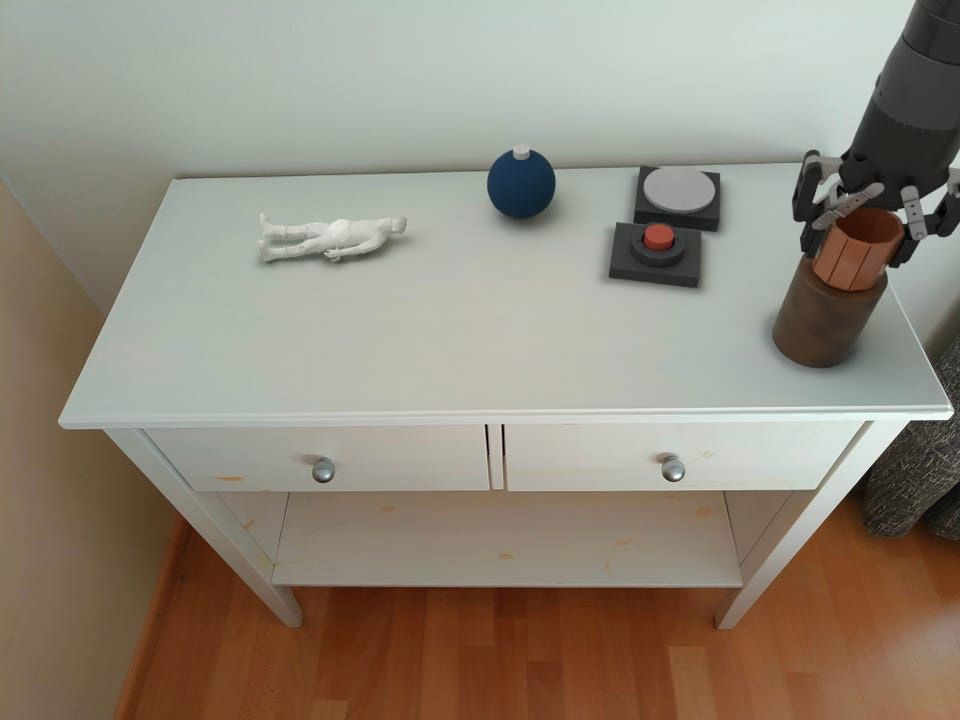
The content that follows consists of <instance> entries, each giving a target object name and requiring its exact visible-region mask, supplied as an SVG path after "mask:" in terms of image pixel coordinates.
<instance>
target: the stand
mask: <svg viewBox="0 0 960 720" xmlns="http://www.w3.org/2000/svg"><path fill="white" fill-rule="evenodd" d="M888 284H889V276H888V272H887V270H886V269H885V271H884V273H883V275H882V276H881V278H880V279H879V280H878V281H877V282H876V283H875V284H874V285H873V286H872V287H871V288H869V289H862V290H855V291H848V290H841V289H838V288H835V287H832V286H830V285H828V284H827V283H825V282H824V281H823V280H822V279H821V278H820V277H819V276H818V275H817V274H816V273H815V272H814V270H813V268H812V259H809V258H805V252H803V254H802V256H801V257H800V259H799V263H798V264H797V267H796V270H795V271H794V274H793V277H792V279H791V281H790V284H789V287H788V289H787V292H786V293H785V296H784V299H783V301H782V304H781V306H780V309H779V311H778V313H777V316H776V318H775V320H774V323H773V325H772V328H771V334H772V335H771V336H772V339H773V342H774V345H775V346H776V347H777V349H778V350H779V351H780V353H782V354H783V356H785V357H787V358H788V359H789V360H791V361H792V362H795V363H798V364H800V365H802V366H806V367H810V368H815V369H816V368H817V369H826V368H831V367H835V366H837V365H840V364H841V363H843V362H844V361H845V360H846V359H847V358H848V357H849V356H850V354H851V352H852V351H853V348H854V347H855V345H856V343H857V341H858V339H859V338H860V336H861V334H862V332H863V331H864V329H865V328H866V325H867V323H868V322H869V320H870V318H871V316H872V315H873V312H874V311H875V309H876V307H877V305H878V304H879V302H880V300H881V298H882V297H883V295H884V293H885V291H886V290H887V287H888Z"/></svg>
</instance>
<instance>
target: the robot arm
mask: <svg viewBox="0 0 960 720" xmlns="http://www.w3.org/2000/svg"><path fill="white" fill-rule="evenodd" d="M959 152H960V0H914V2H913V5H912V8H911V10H910V13H909V15H908V17H907V19H906V22H905V24H904V26H903V30H902V31H901V34H900V36H899V37H898V39H897V41H896V42H895V44H894V45H893V47H892V48H891V51H890V53H889V54H888V56H887V58H886V61H885V63H884V65H883V68H882V70H881V71H880V72H879V74H878V75H877V77H876V80H875V83H874V89H873V91H872V94H871V96H870V99H869V101H868V104H867V106H866V108H865V111H864V113H863V115H862V118H861V120H860V123H859V125H858V127H857V129H856V132H855V134H854V137H853V140H852V142H851V145H850V146H849V147H848V149H847V150H846V151H844V152H843V154H841V155H840V156H838V157H836V156H821V152H820V151H819V150H817V149H810V150H807V152H805V154H804V156H803V160H802V164H801V168H800V171H799V174H798V177H797V181H796V184H795V188H794V191H793V195H792V198H791V209H792V219H793V221H794V222H796V223H804V222H805V223H804V227H803V229H802V231H801V234H800V236H799V243H800V244H799V245H800V251H801V253H805V258H809V259H814V257H815V255H816V253H817V250H818V248H819V246H820V244H821V241H822V239H823V237H824V234H825V232H826V228H825V227H827V226H828V225H829V224H831V223H832V222H833V221H835V220H836V219H837V218H839V217H841V218H844V217H846V216H847V215H848V214H850V213H851V212H852V211H854V210H855V209H857V208H858V207H859V208H861V209H876V208H879V209H882V210H886V211H891V212H893V213H897V212H898V211H899V210H902V209H903V210H904V212H905V213H904V214H905V217H906V221H907V222H906V223H903V222H902V224H903V228H904V236H903V238H902V239H901V241H900V243H899V245H898V247H897V249H896V251H895V252H894V254H893V256H892V258H891V260H890V262H889V263H888V265H887V267H888V268H889V269H899V268H900V266H901V264H907V263H908V262H909V261H910V260H911V258H912V257H913V255H914V253H915V251H916V250H917V248H918V247H919V244H920V242H921V241H923V240H924V239H926V238H927V237H928V236H935V235H936V236H937V237H940V238H948V237H950V236H951V235H952V234H953V233H954V232H955V230H956V228H957V227H958V226H959V225H960V168H957V167H950V166H951V164H953V162H954V161H955V159H956V157H957V155H958V153H959ZM834 174H838V176H839V179H838V180H836V181H835V182H834V183H833V184H832V185H830V186H829V188H828V190H827V192H826V193H825V194H824V195H822V196H821V197H820V198H818V200H816V201H815V202H814V199H815V196H816V193H817V190H818V188H819V186H823V185H824V184H825V182H826V181H828V179H829V178H830V177H831V175H834ZM945 185H946V189H947V191H946V192H945V194H944V195H943V197H942V198H941V200H940V201H939V203H938V205H937V206H936V208H935V209H934V211H933V213H927V214H924V212H923V208H922V204H921V203H922V202H921V200H922V199H924V198H925V197H928V195H931V194H932V193H934V192H935V191H937V190H938V189H940V188H942V187H943V186H945Z"/></svg>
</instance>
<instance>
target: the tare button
mask: <svg viewBox="0 0 960 720" xmlns="http://www.w3.org/2000/svg"><path fill="white" fill-rule="evenodd" d="M673 237H674V233H673V231H672V230H671V229H670V228H669V227H667V226H665V225H660V224H656V225H652V226H650V227H648V228H647V229H646V231H645V237H644V244H645V245H646V247H647V248H649V249H651V250H653V251H665V250H668V249H669V248H670V247H671V246H672V242H673Z"/></svg>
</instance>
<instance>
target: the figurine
mask: <svg viewBox="0 0 960 720" xmlns="http://www.w3.org/2000/svg"><path fill="white" fill-rule="evenodd" d="M408 221H409V219H408V217H406V216H404V215H401V214H400V215H397V216H396V218H391V217H386V218H380V219H379V218H372V219H359V220H354V221H351V220H350V219H343V218H339V219H336V220H335V221H332V223H327V222H322V221H314V222H311V223H306V224H301V225H300V224H299V225H289V226H288V225H287V224H285V225H276V224H273V223H271V222H270V220H269V217H268V215H267V214H266V213H263V212H262V213H260V214H259V223H260V227H261V228H262V236H263V238H264V239H265V240H268V239H272V238H274V237H276V238H277V237H278V238H286V239H287V238H288V237H290V238H300V239H301V238H309V239H305V240H304V241H303V242H300V243H298V244H297V245H292V246H288V247H287V246H283V247H280V248H276V247H271V246H269V245H267V241H265V240H263V239H258V241H257V249H258V251H259V253H260V254H261V255H262V258H263V260H264V262H270V261H273V260H277V259H289V258H295V257H300V256H303V255H311V254H314V255H319V254H322V253H323V254H324V256H325V257H327V258H330V259H331V260H330V261H331V262H332V263H334V262H338V261H340V259H341V256H350V255H351V256H352V255H358V254H359V255H360V254H362V255H363V254H367V253H369V252H372V251H375V250H378V249H379V248H380V247H381V246H382V245H383V244H384V243H385V242H386V241H387V240H388V236H390V235H393V234H400V235H402V234H404V232H406V227H407V224H408V223H407V222H408Z"/></svg>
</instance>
